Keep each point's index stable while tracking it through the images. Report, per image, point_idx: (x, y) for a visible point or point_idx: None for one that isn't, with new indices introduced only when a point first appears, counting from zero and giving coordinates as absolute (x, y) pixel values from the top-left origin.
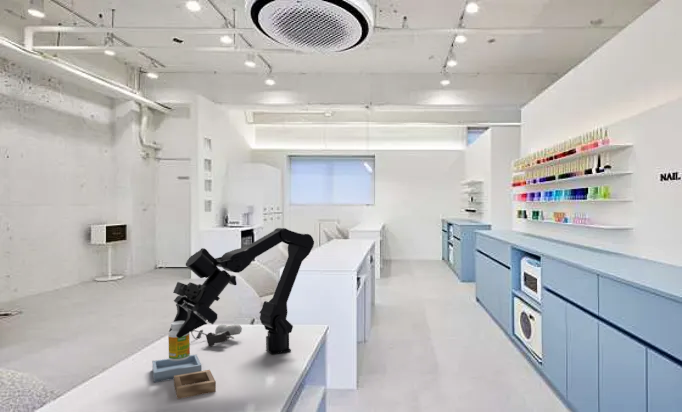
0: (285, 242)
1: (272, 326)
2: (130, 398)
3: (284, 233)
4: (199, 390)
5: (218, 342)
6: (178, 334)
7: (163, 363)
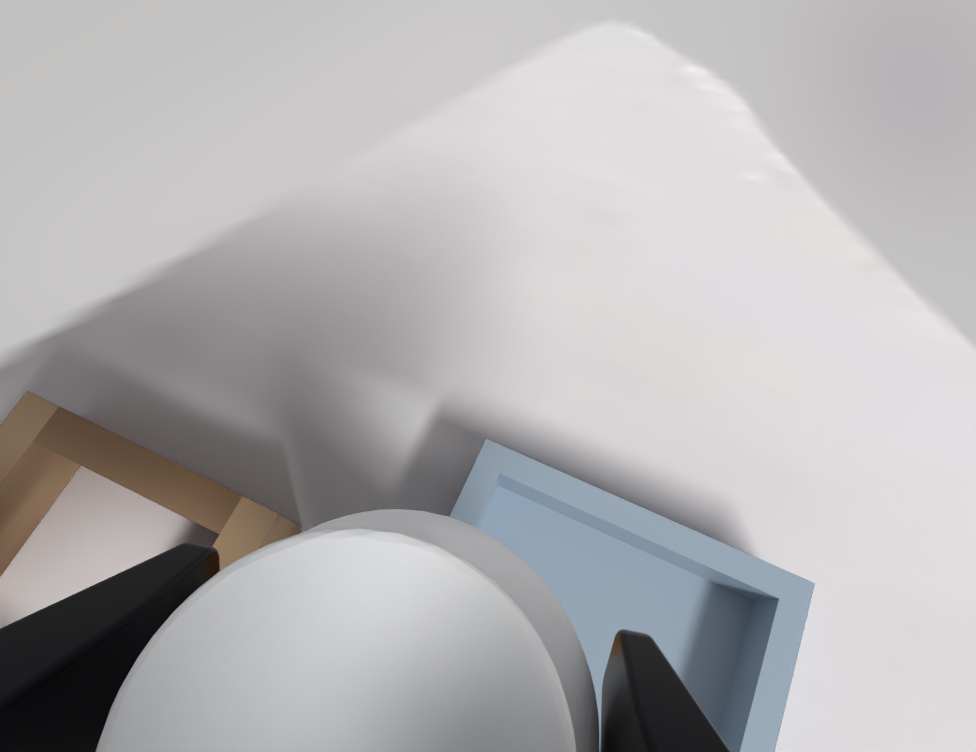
0: None
1: None
2: (365, 253)
3: None
4: None
5: None
6: (149, 568)
7: (744, 670)
